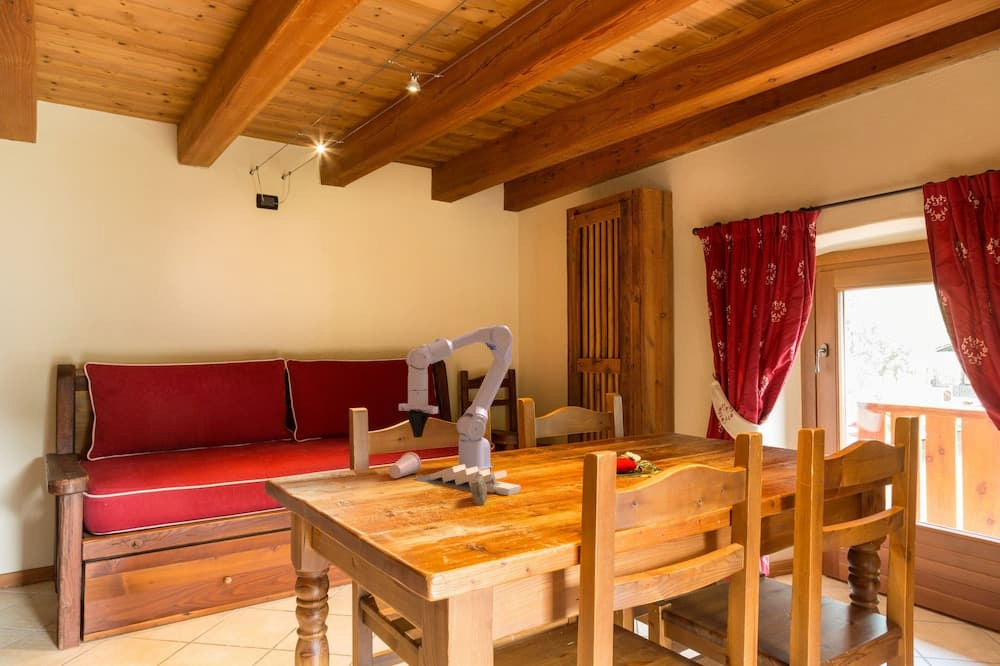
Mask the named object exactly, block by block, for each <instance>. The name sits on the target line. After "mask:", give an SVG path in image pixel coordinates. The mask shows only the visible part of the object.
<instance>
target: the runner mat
mask: <svg viewBox="0 0 1000 666" xmlns="http://www.w3.org/2000/svg"><path fill="white" fill-rule="evenodd" d="M411 480H413V481H417V482H423V483H426V484H427V483H428V484H433V485H437V486H442V487H447V488H451V489H457V490H462V491H467V492H471V487H470V485H469V482H467V483H463V484H459V485H456V482H455V480H452V481H448V482H444V483H443V479H442V478H439V479H435V480H431V476H430V474H429V475H425V476H420V477H415V478H411ZM488 493H489V492H488V491H487V494H488Z"/></svg>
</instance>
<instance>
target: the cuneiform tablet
mask: <svg viewBox="0 0 1000 666" xmlns="http://www.w3.org/2000/svg"><path fill="white" fill-rule="evenodd" d="M491 470H492V468H491V467H490V473H491V478H492V483H493V488H494V495H496V494H497V493H496V492H495V487H494V482H493V481H494V480H493V477H492V473H493V471H492V472H491ZM470 492H471V496H472V499H473V503H474V504H475V506H484V505H485V503H486V499H487V496H488V493H487V488H486V483H485V481H484V478H483V475H482V474H478V475H476V476H475V478H474V479H473V481H472V484H471V491H470Z"/></svg>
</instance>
